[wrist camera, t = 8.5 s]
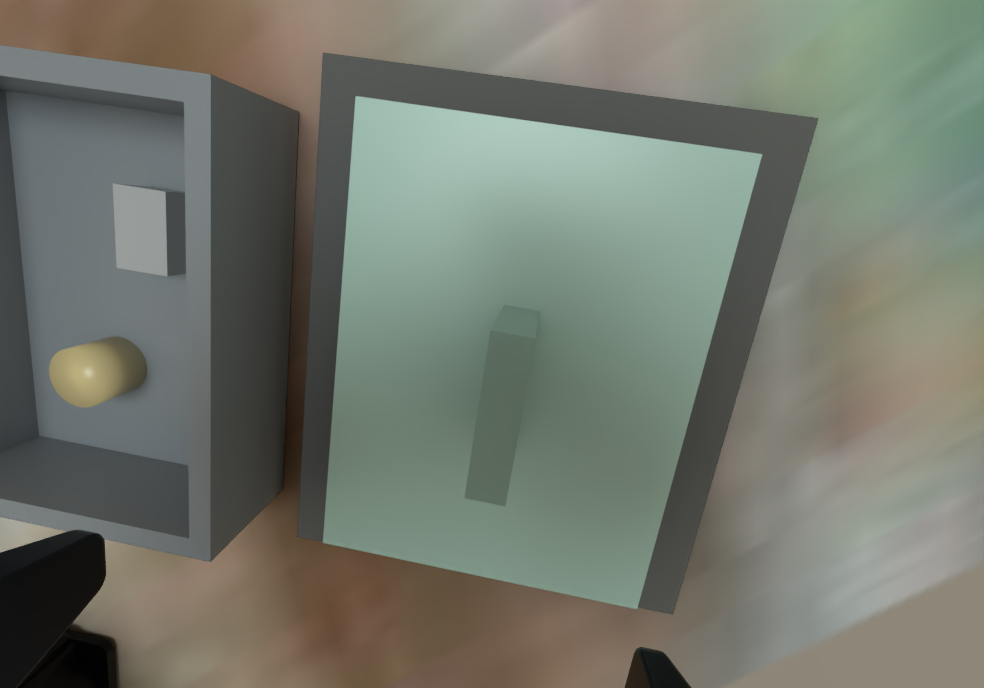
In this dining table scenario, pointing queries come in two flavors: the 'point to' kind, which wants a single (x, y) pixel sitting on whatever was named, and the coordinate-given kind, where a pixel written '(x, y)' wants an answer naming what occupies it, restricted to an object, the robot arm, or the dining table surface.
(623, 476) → the lid
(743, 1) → the dining table surface
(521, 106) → the mat
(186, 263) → the tub
